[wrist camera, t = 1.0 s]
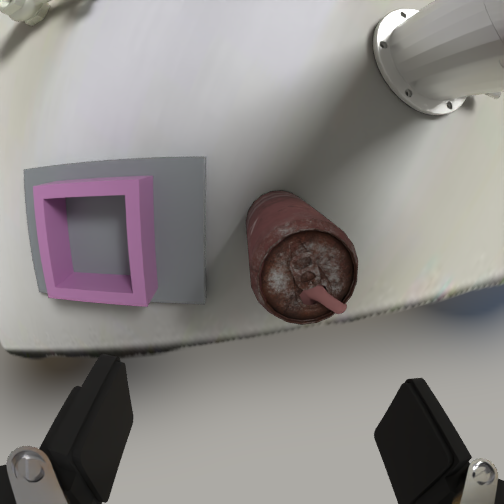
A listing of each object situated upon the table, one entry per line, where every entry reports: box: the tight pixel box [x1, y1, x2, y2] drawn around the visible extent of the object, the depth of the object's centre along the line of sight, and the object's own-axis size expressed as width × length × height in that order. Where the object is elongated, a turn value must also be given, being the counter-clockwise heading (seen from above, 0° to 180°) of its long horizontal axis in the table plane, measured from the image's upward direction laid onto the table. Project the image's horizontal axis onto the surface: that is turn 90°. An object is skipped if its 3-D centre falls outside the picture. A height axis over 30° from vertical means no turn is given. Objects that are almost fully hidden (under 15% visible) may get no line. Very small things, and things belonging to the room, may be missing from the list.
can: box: [246, 191, 358, 324], centre depth 22 cm, size 6×6×14 cm
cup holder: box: [24, 157, 206, 307], centre depth 26 cm, size 20×14×6 cm
